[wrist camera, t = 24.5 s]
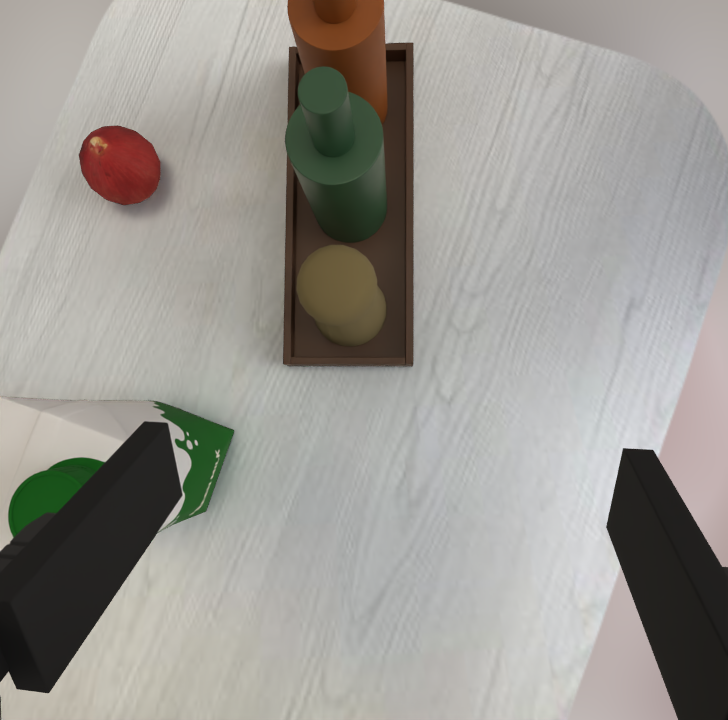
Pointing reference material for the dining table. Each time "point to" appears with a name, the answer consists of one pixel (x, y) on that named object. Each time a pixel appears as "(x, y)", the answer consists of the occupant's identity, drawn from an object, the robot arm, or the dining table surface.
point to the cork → (342, 295)
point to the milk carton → (93, 453)
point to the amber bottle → (344, 43)
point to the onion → (120, 164)
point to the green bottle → (338, 156)
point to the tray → (382, 249)
